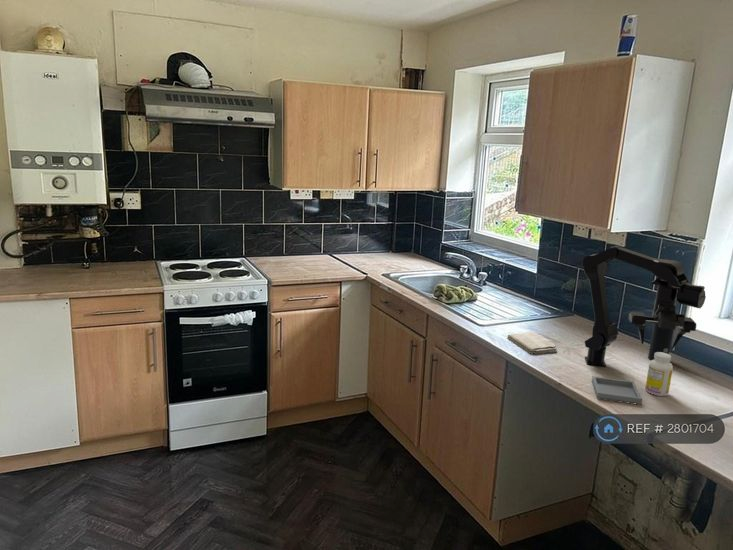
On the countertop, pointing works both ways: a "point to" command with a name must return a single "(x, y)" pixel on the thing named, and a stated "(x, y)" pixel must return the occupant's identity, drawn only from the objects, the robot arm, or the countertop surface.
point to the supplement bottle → (659, 374)
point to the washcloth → (533, 342)
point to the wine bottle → (660, 341)
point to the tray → (616, 390)
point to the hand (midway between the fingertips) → (657, 345)
